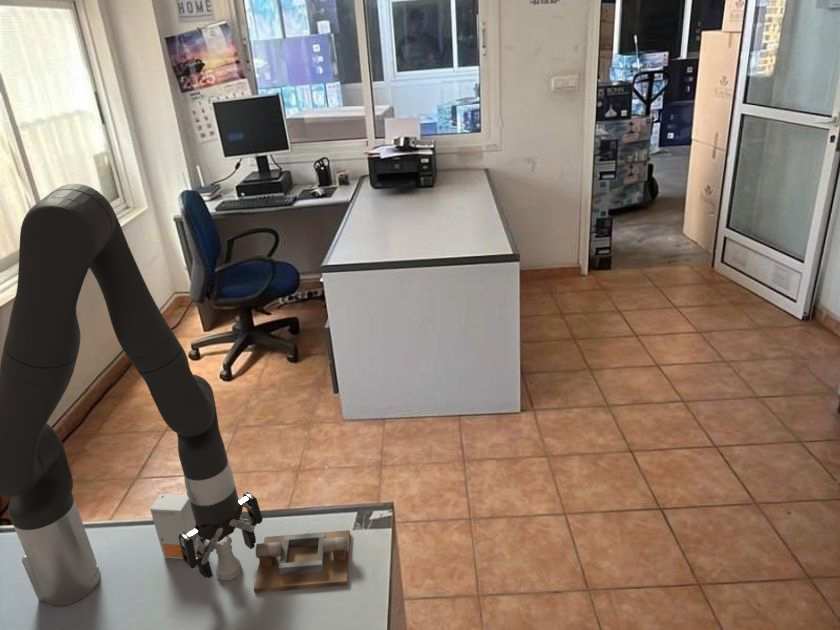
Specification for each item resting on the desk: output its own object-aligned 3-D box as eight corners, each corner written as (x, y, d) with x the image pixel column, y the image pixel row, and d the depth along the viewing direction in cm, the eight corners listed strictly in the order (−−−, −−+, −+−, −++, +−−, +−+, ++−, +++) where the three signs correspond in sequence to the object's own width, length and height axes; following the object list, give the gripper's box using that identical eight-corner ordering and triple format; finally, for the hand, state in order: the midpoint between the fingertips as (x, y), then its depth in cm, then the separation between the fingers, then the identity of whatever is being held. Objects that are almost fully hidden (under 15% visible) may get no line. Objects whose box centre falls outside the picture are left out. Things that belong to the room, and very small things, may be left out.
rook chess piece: (235, 583, 113) (227, 549, 109) (211, 580, 114) (203, 546, 110) (246, 563, 117) (238, 530, 113) (223, 560, 118) (215, 527, 114)
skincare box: (163, 559, 119) (148, 509, 114) (174, 541, 123) (160, 492, 117) (194, 561, 118) (180, 511, 113) (204, 543, 122) (191, 494, 117)
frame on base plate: (254, 592, 111) (250, 572, 109) (265, 540, 122) (261, 521, 120) (347, 585, 111) (344, 565, 109) (350, 534, 122) (347, 514, 120)
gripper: (183, 522, 99) (205, 597, 106) (260, 475, 109) (275, 546, 116) (160, 501, 104) (182, 574, 111) (235, 457, 113) (251, 527, 120)
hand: (229, 560), depth 113 cm, fingers open, 8 cm apart
